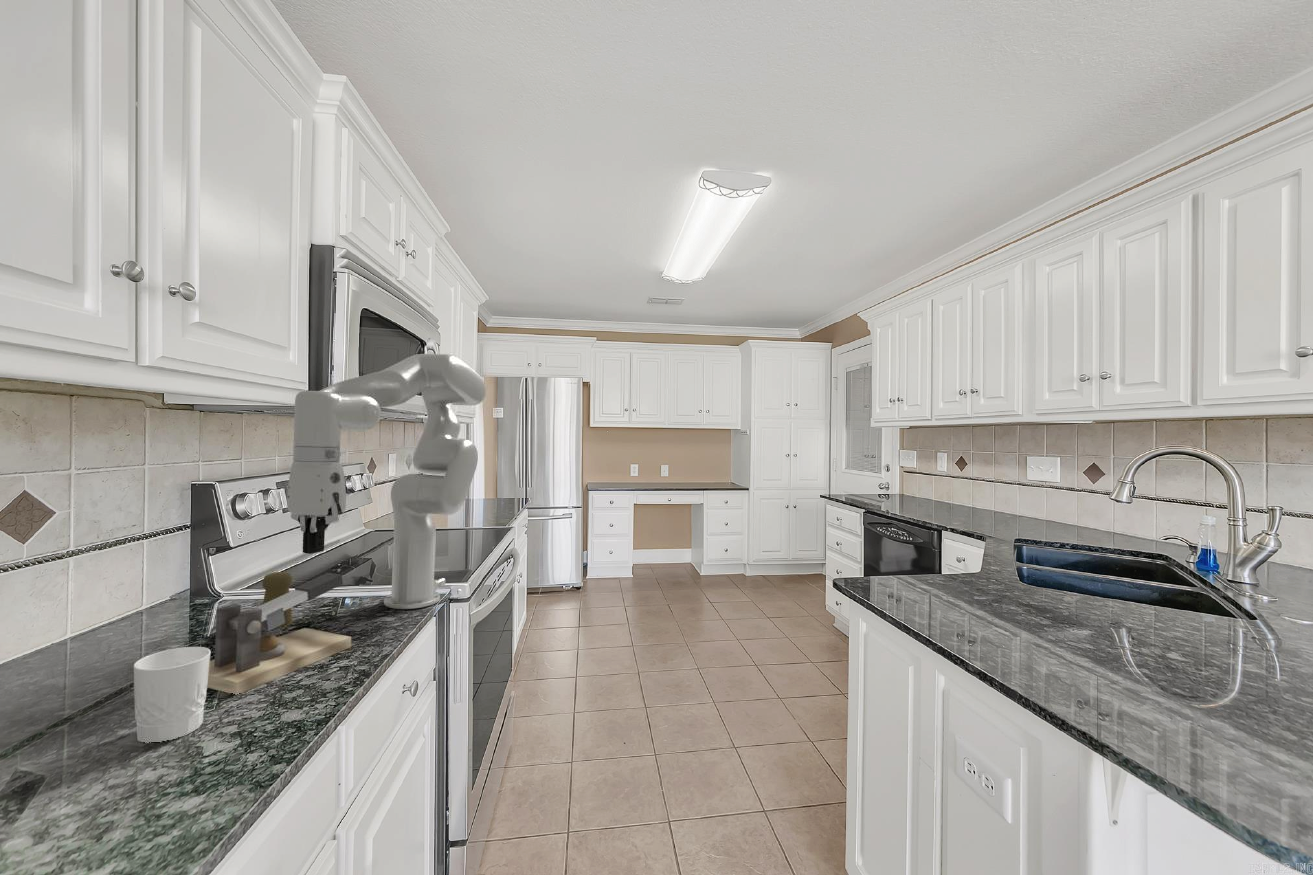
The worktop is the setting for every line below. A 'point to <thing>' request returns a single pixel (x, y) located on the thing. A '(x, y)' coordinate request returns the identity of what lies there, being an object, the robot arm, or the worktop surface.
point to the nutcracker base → (263, 651)
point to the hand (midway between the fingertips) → (313, 551)
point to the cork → (278, 591)
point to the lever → (293, 600)
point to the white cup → (170, 693)
